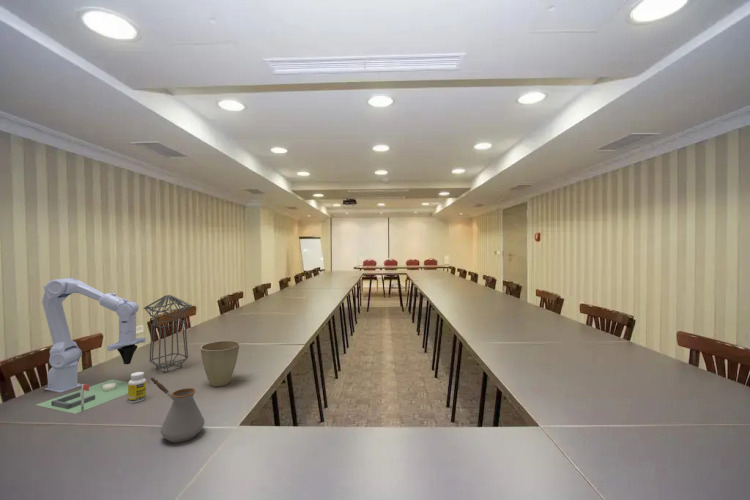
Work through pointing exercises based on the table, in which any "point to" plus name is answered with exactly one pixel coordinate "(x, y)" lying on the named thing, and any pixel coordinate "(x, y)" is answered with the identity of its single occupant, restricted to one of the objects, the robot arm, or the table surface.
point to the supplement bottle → (137, 387)
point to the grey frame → (62, 401)
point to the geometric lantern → (163, 299)
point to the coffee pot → (181, 415)
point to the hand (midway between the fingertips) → (127, 363)
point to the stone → (109, 387)
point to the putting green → (93, 390)
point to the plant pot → (219, 361)
